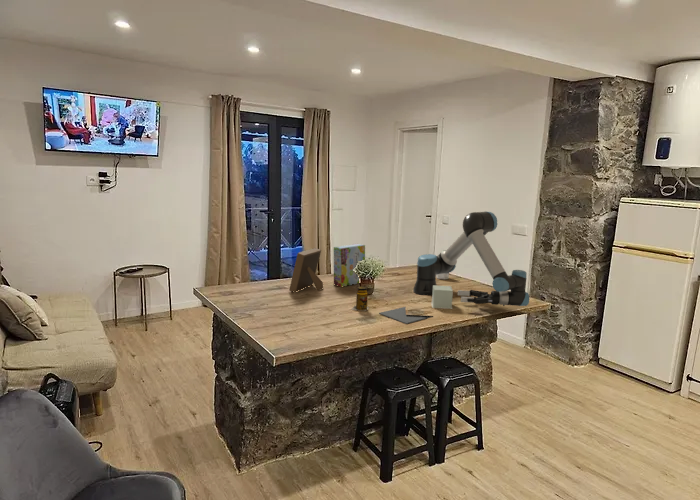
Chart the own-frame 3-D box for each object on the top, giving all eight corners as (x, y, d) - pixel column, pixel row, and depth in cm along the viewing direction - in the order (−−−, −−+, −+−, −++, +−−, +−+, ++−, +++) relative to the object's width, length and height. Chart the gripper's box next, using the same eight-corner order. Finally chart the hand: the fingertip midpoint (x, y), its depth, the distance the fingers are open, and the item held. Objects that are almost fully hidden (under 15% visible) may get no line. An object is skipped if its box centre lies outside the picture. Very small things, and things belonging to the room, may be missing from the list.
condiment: (365, 311, 248) (366, 289, 246) (350, 309, 250) (351, 288, 248) (369, 307, 255) (370, 286, 253) (354, 306, 257) (355, 285, 255)
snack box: (356, 280, 318) (357, 243, 313) (365, 282, 311) (366, 244, 307) (332, 285, 303) (333, 246, 299) (341, 287, 297) (342, 248, 292)
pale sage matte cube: (433, 307, 252) (434, 289, 251) (431, 302, 262) (432, 285, 260) (451, 308, 251) (452, 290, 250) (449, 303, 261) (450, 286, 259)
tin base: (432, 310, 252) (432, 300, 251) (430, 304, 263) (431, 295, 262) (452, 311, 251) (453, 301, 250) (450, 305, 262) (451, 296, 261)
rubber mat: (378, 313, 244) (379, 312, 244) (405, 307, 256) (405, 306, 256) (406, 324, 229) (406, 322, 228) (433, 316, 241) (433, 315, 241)
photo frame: (289, 292, 283) (289, 251, 278) (307, 284, 302) (307, 246, 298) (310, 295, 277) (311, 254, 272) (327, 287, 296) (328, 249, 292)
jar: (441, 280, 324) (442, 263, 322) (433, 277, 331) (434, 261, 329) (451, 278, 329) (452, 262, 327) (442, 276, 336) (443, 260, 334)
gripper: (503, 311, 241) (461, 309, 243) (493, 298, 265) (456, 296, 268) (504, 297, 240) (462, 295, 242) (494, 285, 264) (457, 283, 266)
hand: (459, 295), depth 255 cm, fingers open, 13 cm apart
